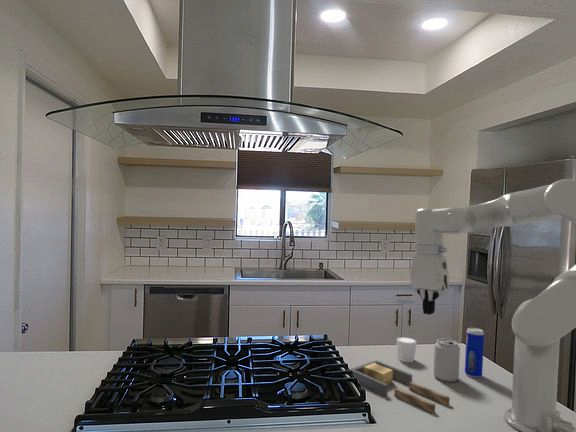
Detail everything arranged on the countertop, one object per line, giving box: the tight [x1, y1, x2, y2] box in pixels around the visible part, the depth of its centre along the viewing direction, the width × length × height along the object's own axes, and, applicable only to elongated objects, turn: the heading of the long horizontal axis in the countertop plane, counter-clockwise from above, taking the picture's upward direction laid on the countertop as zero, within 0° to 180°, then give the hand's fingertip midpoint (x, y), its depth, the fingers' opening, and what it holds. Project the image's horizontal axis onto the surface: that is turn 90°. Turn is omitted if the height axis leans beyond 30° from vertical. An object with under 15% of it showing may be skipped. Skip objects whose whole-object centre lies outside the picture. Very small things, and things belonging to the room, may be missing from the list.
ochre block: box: [364, 363, 394, 385], centre depth 124 cm, size 7×5×4 cm
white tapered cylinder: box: [396, 336, 418, 363], centre depth 142 cm, size 7×7×7 cm
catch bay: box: [348, 360, 413, 397], centre depth 123 cm, size 14×13×3 cm
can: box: [433, 337, 461, 383], centre depth 127 cm, size 8×8×12 cm
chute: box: [393, 381, 451, 414], centre depth 112 cm, size 12×8×2 cm
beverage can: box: [464, 327, 485, 379], centre depth 130 cm, size 5×5×15 cm
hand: (428, 313), depth 116 cm, fingers closed
